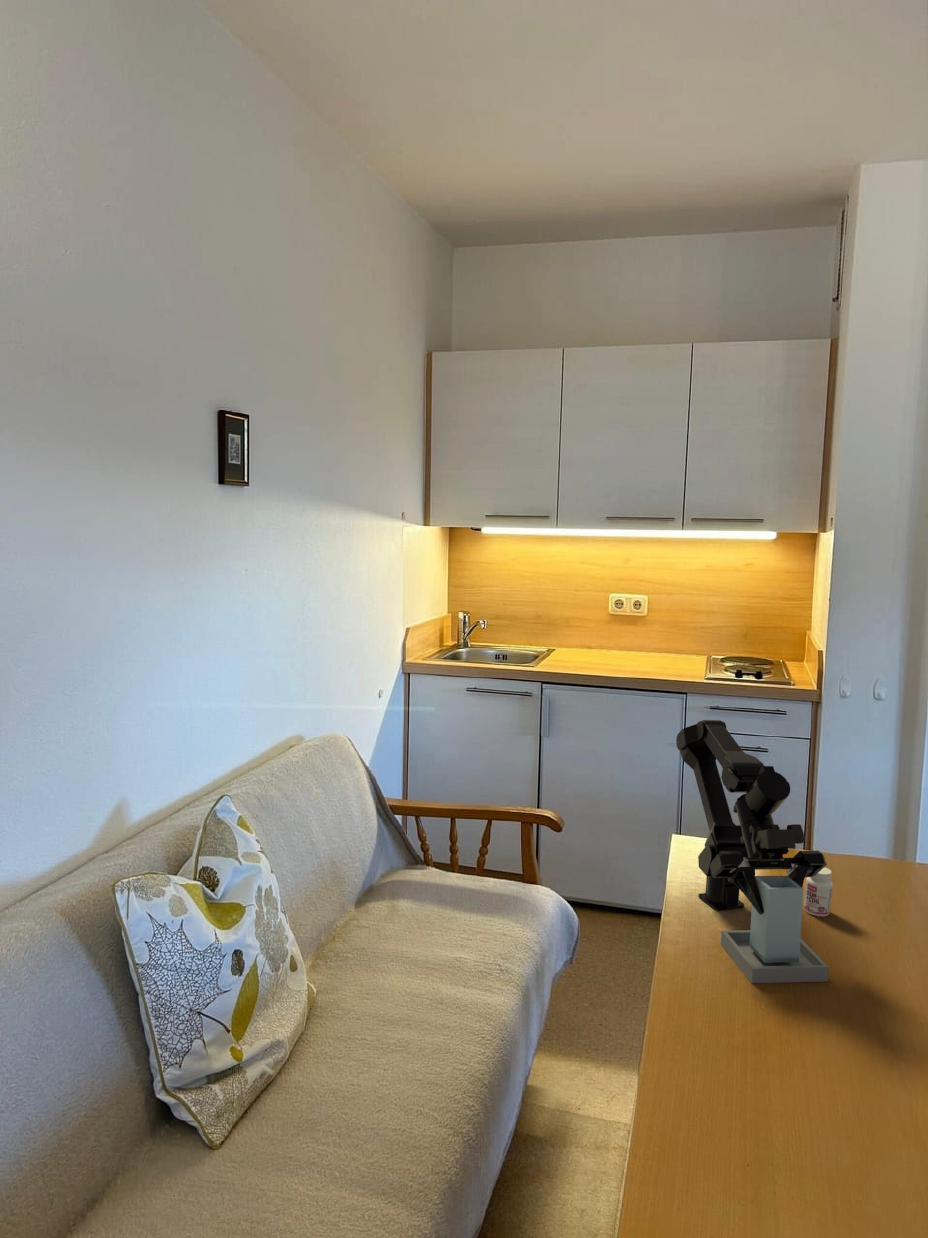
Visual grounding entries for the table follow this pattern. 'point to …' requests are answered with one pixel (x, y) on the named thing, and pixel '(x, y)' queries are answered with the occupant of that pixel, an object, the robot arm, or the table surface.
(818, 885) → the pill bottle
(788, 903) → the slim crate
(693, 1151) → the table surface
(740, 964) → the shallow crate
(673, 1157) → the table surface
